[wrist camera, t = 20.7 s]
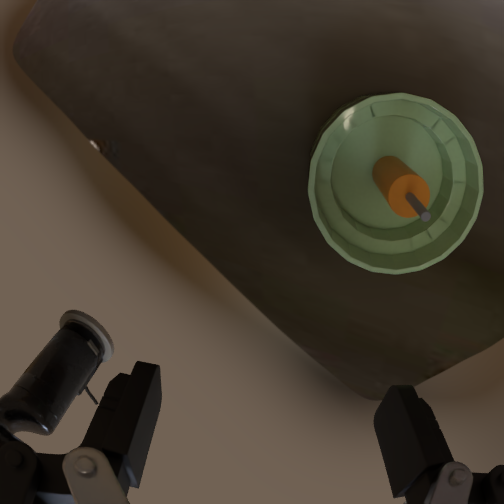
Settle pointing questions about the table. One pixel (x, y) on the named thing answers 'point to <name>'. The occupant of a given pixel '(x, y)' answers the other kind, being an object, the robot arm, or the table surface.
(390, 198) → the screwdriver
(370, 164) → the green round bowl
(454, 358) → the table surface
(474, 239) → the table surface
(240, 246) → the table surface
